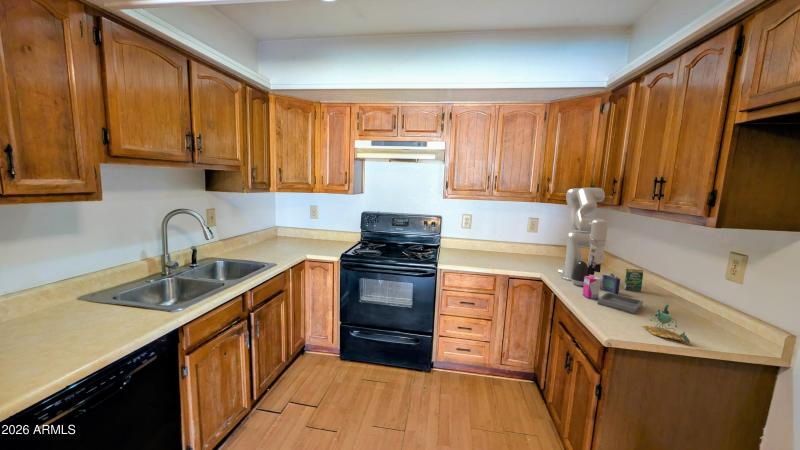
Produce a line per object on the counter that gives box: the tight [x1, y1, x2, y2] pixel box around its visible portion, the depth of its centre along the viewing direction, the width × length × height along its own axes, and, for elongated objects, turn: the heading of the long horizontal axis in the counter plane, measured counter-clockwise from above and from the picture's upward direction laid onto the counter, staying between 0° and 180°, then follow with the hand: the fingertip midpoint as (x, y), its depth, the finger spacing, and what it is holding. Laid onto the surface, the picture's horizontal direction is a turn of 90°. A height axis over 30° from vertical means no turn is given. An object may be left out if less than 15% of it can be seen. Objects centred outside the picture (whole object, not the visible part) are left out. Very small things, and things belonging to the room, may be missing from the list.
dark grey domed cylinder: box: [571, 260, 591, 287], centre depth 193 cm, size 10×10×15 cm
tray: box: [597, 291, 644, 315], centre depth 162 cm, size 16×16×3 cm
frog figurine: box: [642, 303, 693, 346], centre depth 130 cm, size 10×18×15 cm, turn 13°
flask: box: [600, 272, 621, 295], centre depth 182 cm, size 10×3×12 cm, turn 24°
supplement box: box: [582, 275, 601, 300], centre depth 172 cm, size 6×6×12 cm
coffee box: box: [623, 268, 644, 293], centre depth 185 cm, size 8×3×13 cm, turn 66°
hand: (593, 273), depth 170 cm, fingers open, 9 cm apart
